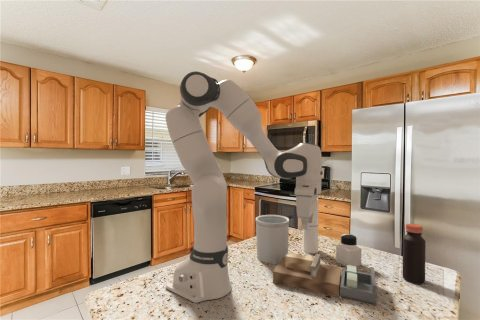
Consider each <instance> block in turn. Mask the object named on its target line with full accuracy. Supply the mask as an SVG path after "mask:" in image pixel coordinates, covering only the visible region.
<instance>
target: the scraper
mask: <svg viewBox="0 0 480 320" xmlns="http://www.w3.org/2000/svg"><path fill="white" fill-rule="evenodd" d="M320 264H321V254H320V253H315V256H314V257H311V256H305V255H300V254H294V253H289V252H288V253H287V255H286V256H285V267H289V268H294V269H299V270H304V271H309V272H311V278H314V279H316V276H317V273H318V270H319V267H320Z"/></svg>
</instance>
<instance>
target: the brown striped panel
mask: <svg viewBox="0 0 480 320" xmlns="http://www.w3.org/2000/svg"><path fill="white" fill-rule="evenodd" d="M341 276H342V266H336V265H331V264H325V263H324V264H323V263H320V267H319V270H318V273H317V276H316V279H314V278H311V272H309V271H304V270H299V269H294V268H289V267H285V257H283V258H282V260H281V261H280V262H279V264H276V266H275V268H274V269H273V271H272V283H275V284H278V285H283V286H288V287H292V288H297V289H300V290H306V291H309V292H313V293H317V294H323V295H328V296H331V297H335V298H340V284H341Z"/></svg>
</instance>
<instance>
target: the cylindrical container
mask: <svg viewBox="0 0 480 320" xmlns="http://www.w3.org/2000/svg"><path fill="white" fill-rule="evenodd" d="M302 251H303V252H304V253H308V254H318V253H319V198H318V197H317V208H316V210H315V211H314V214H313V222H312V223H308V229H307V230H303V229H302Z"/></svg>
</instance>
